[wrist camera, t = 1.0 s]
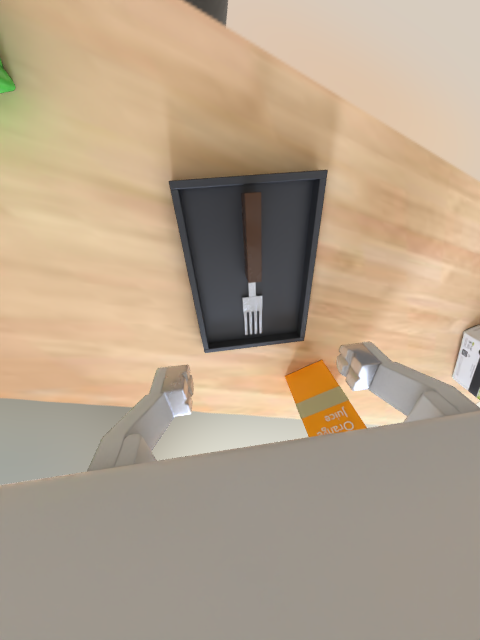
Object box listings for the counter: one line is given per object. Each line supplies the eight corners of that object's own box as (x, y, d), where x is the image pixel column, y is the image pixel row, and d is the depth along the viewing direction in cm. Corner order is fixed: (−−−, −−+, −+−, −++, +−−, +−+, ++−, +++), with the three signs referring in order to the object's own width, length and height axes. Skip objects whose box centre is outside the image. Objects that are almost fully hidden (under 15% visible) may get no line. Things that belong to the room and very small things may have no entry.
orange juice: (322, 359, 37) (414, 498, 20) (333, 385, 42) (416, 516, 25) (283, 376, 38) (339, 520, 21) (298, 400, 43) (354, 534, 26)
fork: (235, 193, 21) (238, 193, 19) (261, 191, 21) (267, 191, 19) (244, 333, 31) (246, 345, 29) (262, 331, 31) (266, 343, 29)
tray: (172, 181, 20) (168, 180, 19) (319, 171, 21) (328, 169, 20) (205, 344, 32) (204, 353, 30) (299, 333, 33) (304, 340, 31)
